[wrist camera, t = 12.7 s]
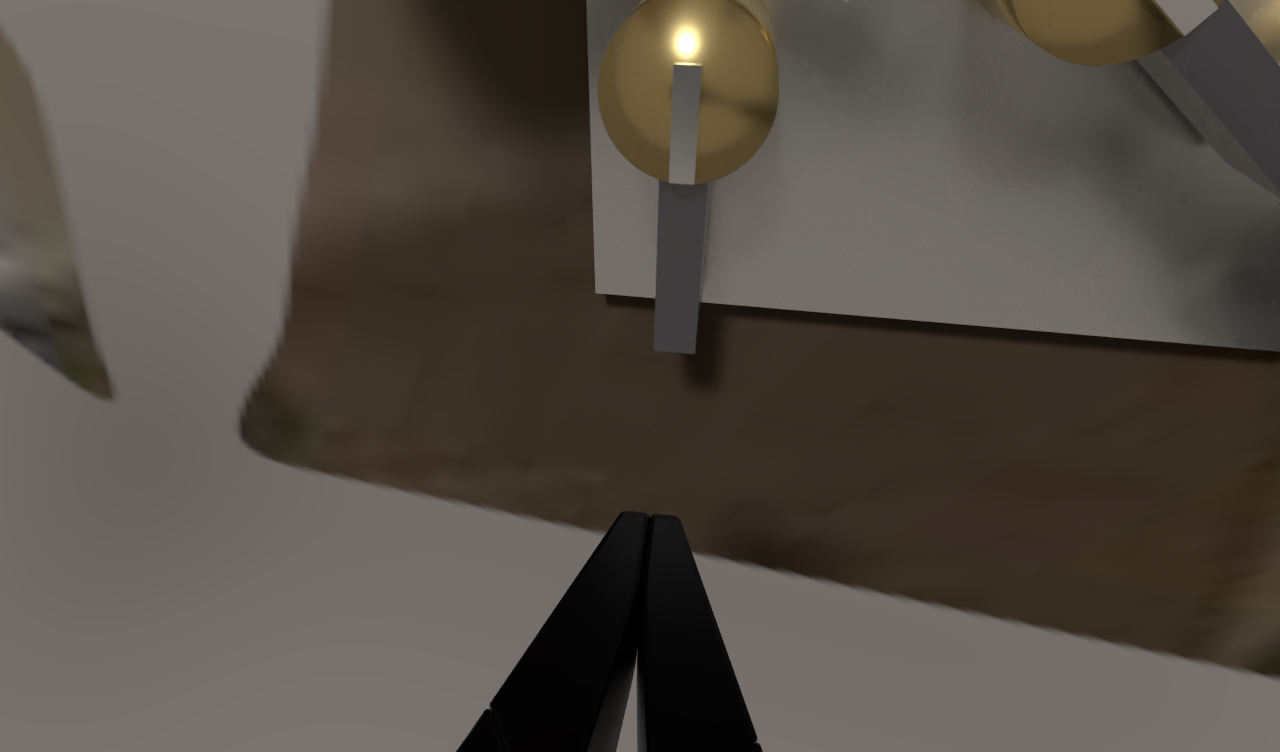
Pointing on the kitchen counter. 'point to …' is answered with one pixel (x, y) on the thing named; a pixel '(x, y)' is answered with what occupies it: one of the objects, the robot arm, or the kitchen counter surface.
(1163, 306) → the base plate
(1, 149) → the kitchen counter surface
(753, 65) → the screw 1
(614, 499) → the kitchen counter surface
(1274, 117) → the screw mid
